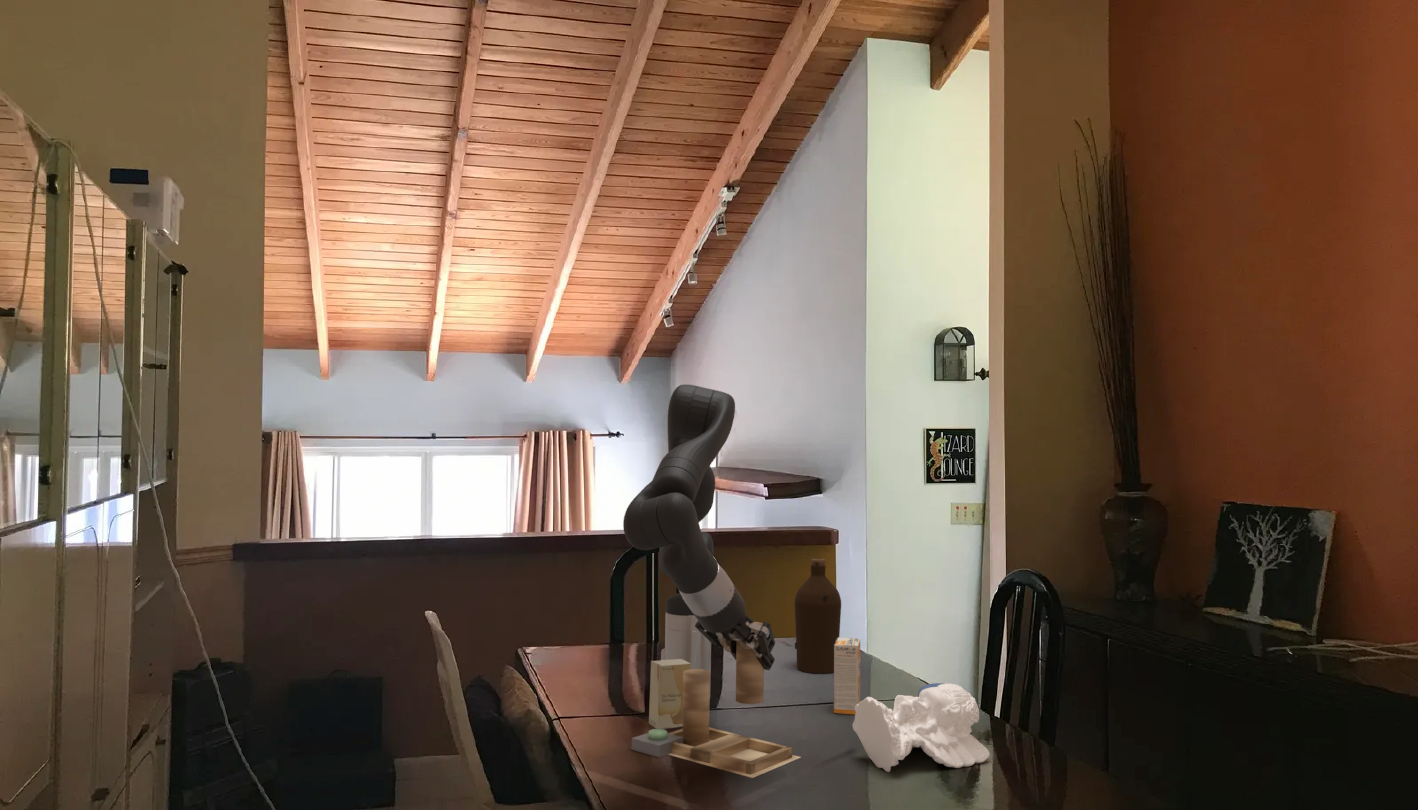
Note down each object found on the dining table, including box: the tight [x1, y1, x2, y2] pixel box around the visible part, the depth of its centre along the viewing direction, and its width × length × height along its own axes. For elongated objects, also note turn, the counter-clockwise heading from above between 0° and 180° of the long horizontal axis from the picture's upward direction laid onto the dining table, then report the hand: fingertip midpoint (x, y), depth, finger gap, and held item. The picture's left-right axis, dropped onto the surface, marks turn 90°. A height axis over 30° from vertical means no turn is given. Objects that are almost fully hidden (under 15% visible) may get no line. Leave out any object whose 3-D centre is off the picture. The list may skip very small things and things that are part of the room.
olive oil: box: [794, 558, 842, 675], centre depth 225 cm, size 11×11×25 cm
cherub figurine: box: [852, 683, 991, 773], centre depth 161 cm, size 13×12×20 cm
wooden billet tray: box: [666, 726, 802, 779], centre depth 159 cm, size 22×13×3 cm, turn 51°
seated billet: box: [682, 669, 711, 747], centre depth 162 cm, size 4×4×12 cm
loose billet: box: [735, 621, 765, 705], centre depth 156 cm, size 4×4×12 cm
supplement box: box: [833, 637, 861, 715], centre depth 191 cm, size 8×5×13 cm, turn 168°
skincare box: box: [648, 659, 691, 730], centre depth 175 cm, size 6×4×12 cm
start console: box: [631, 728, 684, 758], centre depth 160 cm, size 6×6×4 cm
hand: (757, 662), depth 157 cm, fingers closed on loose billet, 4 cm apart
